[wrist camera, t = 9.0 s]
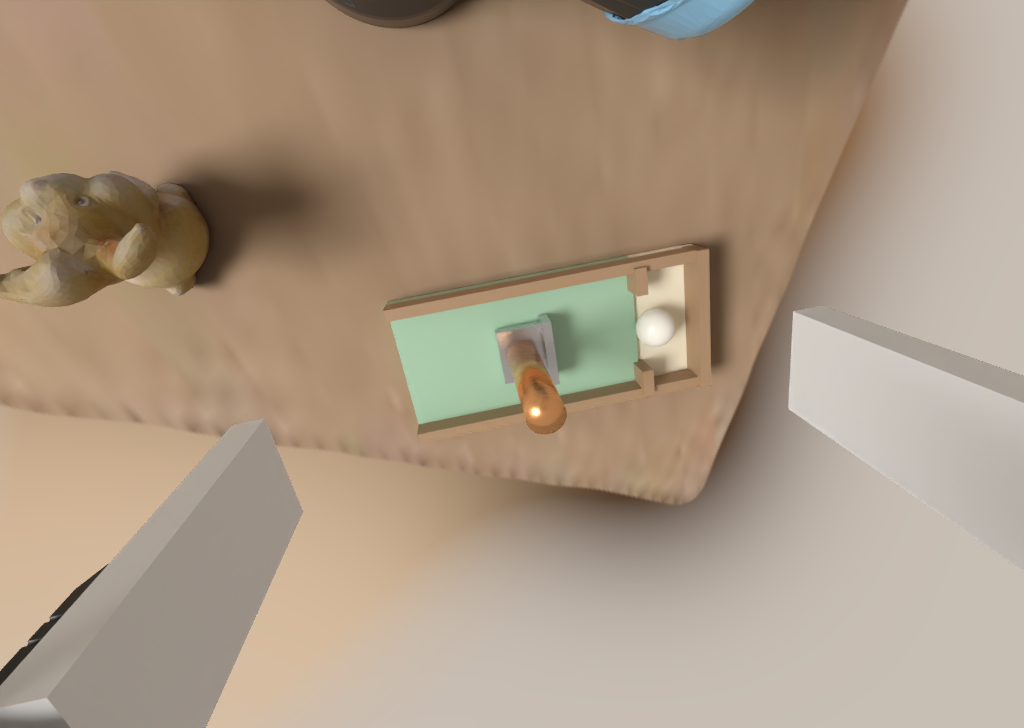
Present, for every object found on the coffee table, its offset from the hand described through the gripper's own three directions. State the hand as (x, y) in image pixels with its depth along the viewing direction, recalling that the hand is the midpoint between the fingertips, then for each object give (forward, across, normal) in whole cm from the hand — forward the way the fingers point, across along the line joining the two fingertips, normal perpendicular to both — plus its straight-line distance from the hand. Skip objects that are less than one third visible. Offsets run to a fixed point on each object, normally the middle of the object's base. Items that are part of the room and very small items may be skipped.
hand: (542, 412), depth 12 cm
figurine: (+33, -24, +6) cm, 41 cm away
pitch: (+33, +5, -10) cm, 35 cm away
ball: (+30, +14, -10) cm, 35 cm away
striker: (+31, +2, -10) cm, 33 cm away
